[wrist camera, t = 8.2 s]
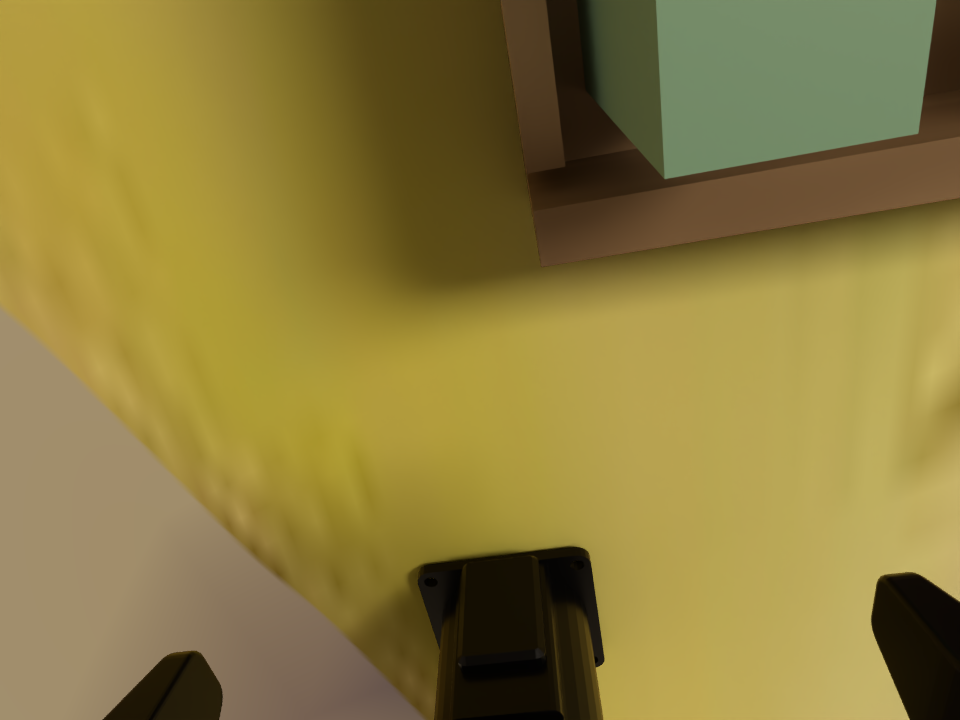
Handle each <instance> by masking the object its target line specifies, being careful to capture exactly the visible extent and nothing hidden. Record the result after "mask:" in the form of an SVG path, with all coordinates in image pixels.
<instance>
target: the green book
mask: <svg viewBox="0 0 960 720" xmlns="http://www.w3.org/2000/svg"><path fill="white" fill-rule="evenodd" d="M935 7H936V0H577V8H578V18H579V28H580V38H581V48H582V58H583V68H584V78H585V87H586V91H587V93H588V94H589V95H590V96H591V97H592V98H593V99H594V100H595V102H596V103H597V104H598V105H599V106H600V107H601V108H602V109H603V110H604V112H605V113H606V114H607V115H608V116H609V117H610V118H611V119H612V121H613V122H614V123H615V124H616V125H617V126H618V127H619V128H620V130H621V131H622V132H623V133H624V134H625V135H626V136H627V137H628V139H629V140H630V141H631V142H632V143H633V144H634V145H635V146H636V148H637V149H638V150H639V151H640V152H641V153H642V154H643V155H644V157H645V158H646V159H647V160H648V161H649V162H650V163H651V164H652V166H653V167H654V168H655V169H656V170H657V171H658V172H659V173H660V174H661V176H662V177H663V178H664V179H668V178H674V177H680V176H685V175H691V174H696V173H702V172H707V171H713V170H719V169H724V168H730V167H735V166H741V165H746V164H752V163H758V162H763V161H769V160H774V159H780V158H785V157H791V156H797V155H802V154H808V153H813V152H819V151H824V150H830V149H836V148H841V147H847V146H852V145H858V144H863V143H869V142H875V141H880V140H886V139H891V138H897V137H902V136H908V135H914V134H918V132H919V125H920V117H921V110H922V103H923V95H924V88H925V81H926V73H927V66H928V59H929V51H930V44H931V37H932V29H933V22H934V15H935Z"/></svg>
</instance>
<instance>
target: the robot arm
mask: <svg viewBox="0 0 960 720" xmlns="http://www.w3.org/2000/svg"><path fill="white" fill-rule="evenodd" d="M576 560H580V561H578V562H573V561H576ZM429 577H430V578H434V579H430V578H429ZM418 585H419V588H420V591H421V594H422V597H423V600H424V603H425V606H426V609H427V613H428V616H429V619H430V622H431V625H432V628H433V631H434V634H435V637H436V640H437V643H438V646H439V649H440V654H439V667H438V679H437V691H436V704H435V716H434V720H603V714H602V707H601V700H600V694H599V687H598V680H597V674H596V667H599V666H600V665H602V664H603V663H604V652H603V645H602V638H601V631H600V624H599V617H598V610H597V603H596V596H595V589H594V582H593V575H592V567H591V561H590V555H589V553H588V551H586V550H585V549H583V548H580V547H573V548H565V549H557V550H548V551H540V552H531V553H523V554H515V555H506V556H498V557H490V558H481V559H473V560H464V561H456V562H448V563H439V564H431V565H426V566H424V567H422V568H421V569H420V571H419V575H418ZM871 624H872V630H873V633H874V636H875V639H876V641H877V644H878V646H879V648H880V651H881V653H882V656H883V658H884V660H885V663H886V665H887V667H888V670H889V672H890V674H891V677H892V679H893V681H894V684H895V686H896V688H897V691H898V693H899V696H900V698H901V700H902V703H903V705H904V707H905V710H906V712H907V714H908V717H909V719H910V720H960V601H958V600H957V599H955V598H954V597H952V596H951V595H949V594H948V593H946V592H945V591H943V590H942V589H941V588H939V587H938V586H936V585H935V584H933V583H932V582H930V581H929V580H927V579H926V578H924V577H923V576H921V575H919V574H916V573H913V572H905V573H896V574H887V575H883V576H881V577H880V578H879V579H878V581H877V585H876V591H875V597H874V603H873V609H872V615H871ZM222 698H223V696H222V689H221V685H220V683H219V681H218V680H217V678H216V676H215V675H214V673H213V671H212V670H211V668H210V667H209V665H208V663H207V662H206V660H205V658H204V657H203V656H202V654H201V653H199V652H197V651H185V652H176V653H172V654H169V655H167V656H166V657H164V658H163V659H162V660H161V661H160V662H159V663H158V664H157V665H156V666H155V667H154V668H153V669H152V670H151V671H150V672H149V673H148V674H147V675H146V676H145V677H144V678H143V679H142V680H141V681H140V682H139V683H138V684H137V685H136V686H135V687H134V688H133V689H132V690H131V691H130V692H129V693H128V694H127V695H126V697H124V698H123V700H121V702H120V703H119V704H118V705H117V706H116V707H115V708H114V709H113V710H112V711H111V712H110V713H109V714H108V715H107V716H106V717H105V718H104V719H103V720H219V717H220V712H221V707H222Z"/></svg>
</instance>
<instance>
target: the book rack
mask: <svg viewBox="0 0 960 720" xmlns="http://www.w3.org/2000/svg"><path fill="white" fill-rule="evenodd" d="M500 3H501V10H502V16H503V23H504V30H505V37H506V43H507V50H508V57H509V63H510V70H511V77H512V84H513V90H514V97H515V104H516V110H517V117H518V124H519V131H520V137H521V144H522V151H523V158H524V164H525V171H526V178H527V184H528V191H529V198H530V204H531V210H532V216H533V221H534V227H535V233H536V239H537V245H538V251H539V256H540V262H541V267H545V266H551V265H557V264H563V263H569V262H575V261H581V260H588V259H594V258H600V257H606V256H612V255H618V254H624V253H630V252H636V251H642V250H648V249H654V248H660V247H666V246H672V245H678V244H684V243H690V242H696V241H702V240H708V239H714V238H720V237H727V236H733V235H739V234H745V233H751V232H757V231H763V230H769V229H775V228H781V227H787V226H793V225H799V224H805V223H811V222H817V221H823V220H829V219H835V218H841V217H847V216H853V215H860V214H866V213H872V212H878V211H884V210H890V209H896V208H902V207H908V206H914V205H920V204H926V203H932V202H938V201H944V200H950V199H956V198H960V0H936V7H935V15H934V22H933V29H932V37H931V44H930V51H929V59H928V66H927V73H926V81H925V88H924V95H923V103H922V110H921V117H920V125H919V132H918V134H914V135H908V136H902V137H897V138H891V139H886V140H880V141H875V142H869V143H863V144H858V145H852V146H847V147H841V148H836V149H830V150H824V151H819V152H813V153H808V154H802V155H797V156H791V157H785V158H780V159H774V160H769V161H763V162H758V163H752V164H746V165H741V166H735V167H730V168H724V169H719V170H713V171H707V172H702V173H696V174H691V175H685V176H680V177H674V178H668V179H664V178H663V177H662V176H661V174H660V173H659V172H658V171H657V170H656V169H655V168H654V167H653V166H652V164H651V163H650V162H649V161H648V160H647V159H646V158H645V157H644V155H643V154H642V153H641V152H640V151H639V150H638V149H637V148H636V146H635V145H634V144H633V143H632V142H631V141H630V140H629V139H628V137H627V136H626V135H625V134H624V133H623V132H622V131H621V130H620V128H619V127H618V126H617V125H616V124H615V123H614V122H613V121H612V119H611V118H610V117H609V116H608V115H607V114H606V113H605V112H604V110H603V109H602V108H601V107H600V106H599V105H598V104H597V103H596V102H595V100H594V99H593V98H592V97H591V96H590V95H589V94H588V93H587V91H586V87H585V78H584V68H583V58H582V48H581V38H580V28H579V18H578V8H577V0H500Z"/></svg>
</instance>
